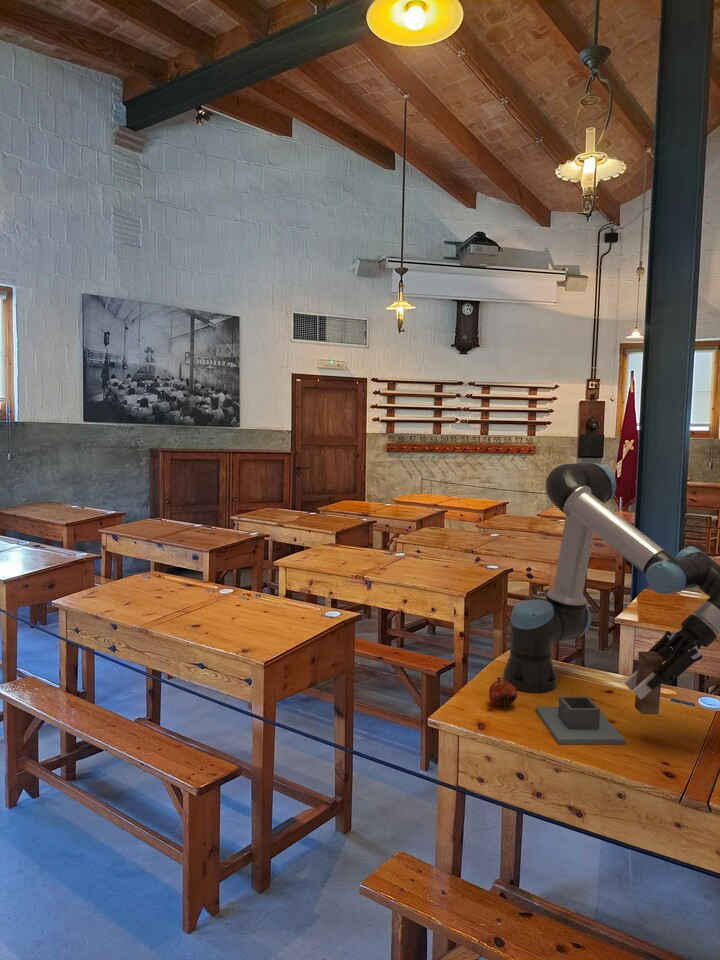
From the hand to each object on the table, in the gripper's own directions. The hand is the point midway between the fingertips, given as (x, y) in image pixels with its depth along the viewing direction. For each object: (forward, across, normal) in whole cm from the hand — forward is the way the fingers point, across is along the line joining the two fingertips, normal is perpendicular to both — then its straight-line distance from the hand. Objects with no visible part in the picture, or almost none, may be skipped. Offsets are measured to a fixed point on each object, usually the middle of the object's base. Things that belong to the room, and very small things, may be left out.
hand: (632, 690), depth 160 cm
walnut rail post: (+1, 0, -6) cm, 6 cm away
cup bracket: (+16, +6, -1) cm, 17 cm away
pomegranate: (+28, +18, +10) cm, 34 cm away
